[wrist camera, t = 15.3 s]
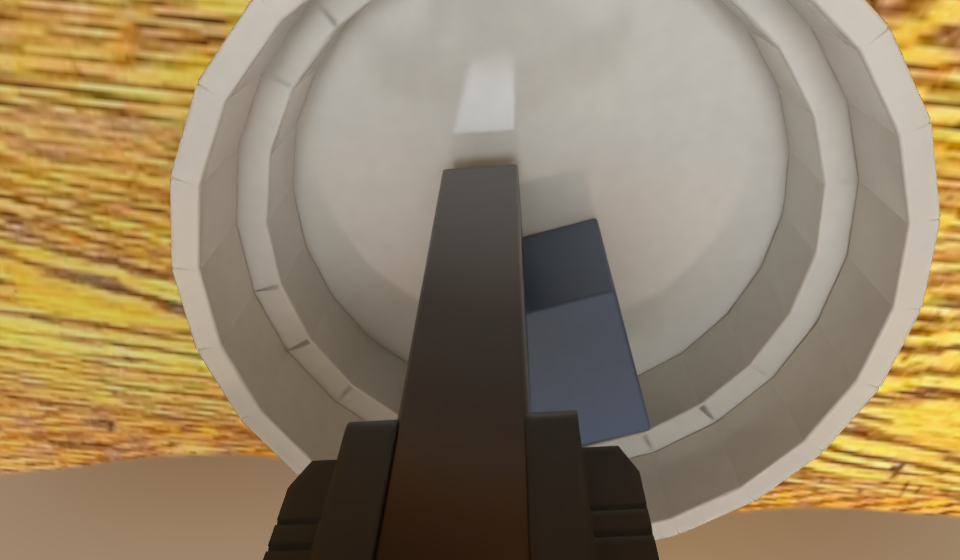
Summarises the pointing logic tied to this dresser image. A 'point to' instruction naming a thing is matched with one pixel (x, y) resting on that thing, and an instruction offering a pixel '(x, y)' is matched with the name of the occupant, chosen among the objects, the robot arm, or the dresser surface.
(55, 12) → the dresser surface
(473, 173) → the stick
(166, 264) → the dresser surface
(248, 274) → the bowl
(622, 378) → the block
